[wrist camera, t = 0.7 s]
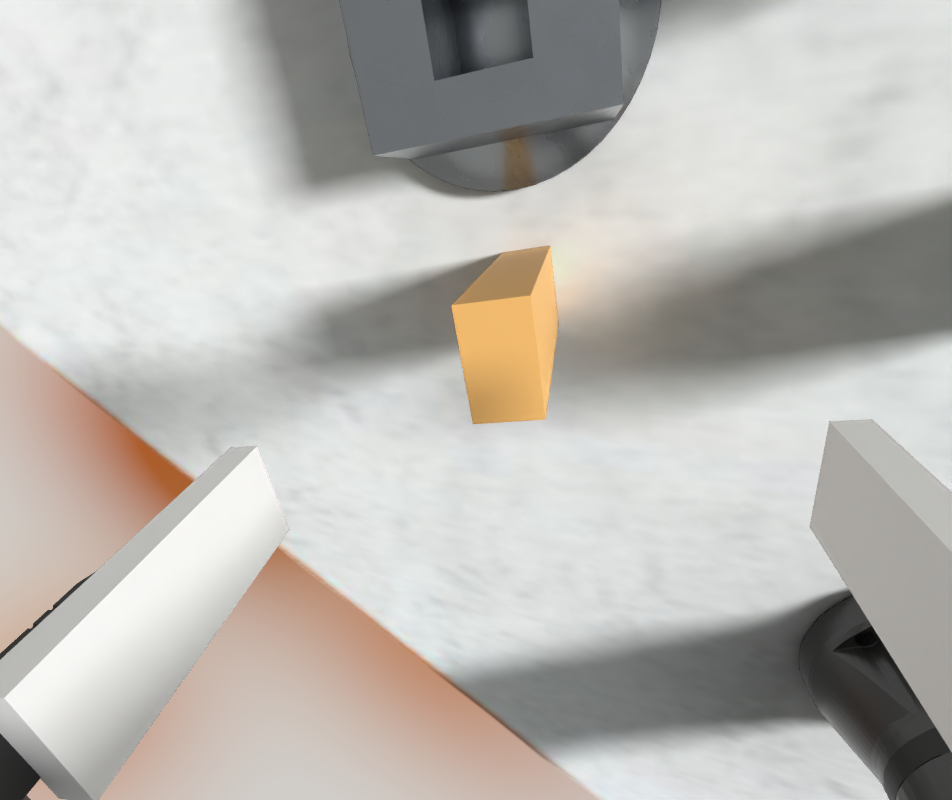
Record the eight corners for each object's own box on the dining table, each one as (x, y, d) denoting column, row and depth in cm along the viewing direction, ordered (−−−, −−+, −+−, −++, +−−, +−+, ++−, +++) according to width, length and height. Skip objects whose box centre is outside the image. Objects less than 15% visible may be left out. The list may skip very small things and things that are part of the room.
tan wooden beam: (558, 324, 33) (545, 419, 20) (512, 329, 33) (473, 424, 21) (550, 245, 31) (530, 295, 18) (502, 252, 31) (450, 305, 19)
